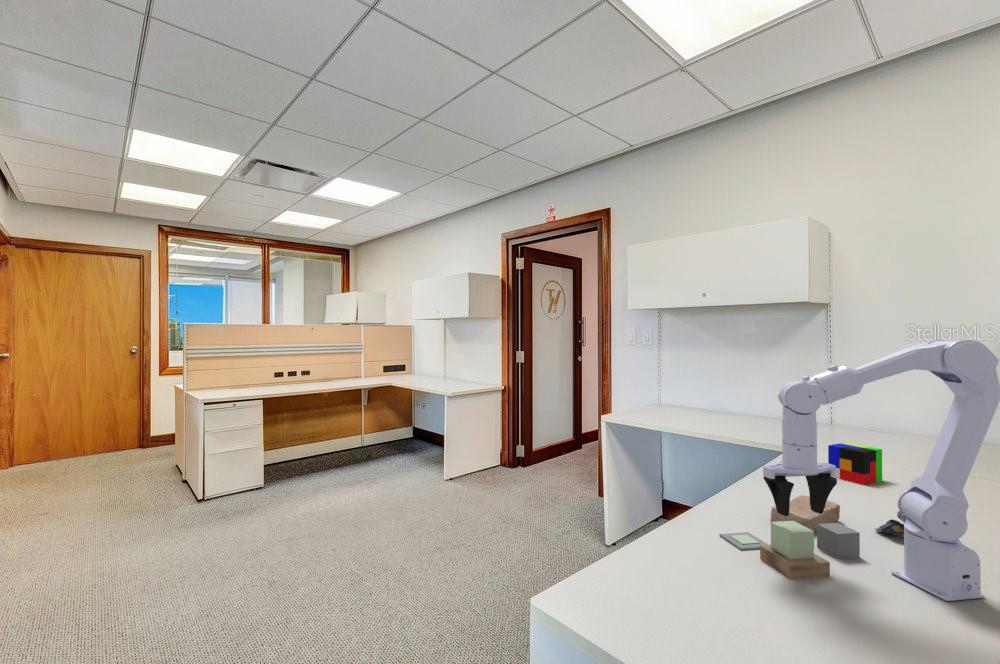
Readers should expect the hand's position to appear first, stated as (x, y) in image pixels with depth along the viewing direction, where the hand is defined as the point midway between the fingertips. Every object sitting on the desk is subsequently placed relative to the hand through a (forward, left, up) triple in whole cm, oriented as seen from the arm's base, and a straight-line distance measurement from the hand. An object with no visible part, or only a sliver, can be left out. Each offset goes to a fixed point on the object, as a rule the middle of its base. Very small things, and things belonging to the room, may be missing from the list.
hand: (799, 513), depth 89 cm
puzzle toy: (+46, -62, -10) cm, 78 cm away
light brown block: (-1, +2, -10) cm, 11 cm away
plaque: (+10, +4, -10) cm, 15 cm away
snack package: (+7, -35, -10) cm, 37 cm away
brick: (+18, -17, -10) cm, 27 cm away
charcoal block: (+3, -12, -10) cm, 16 cm away
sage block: (0, +2, -7) cm, 8 cm away
